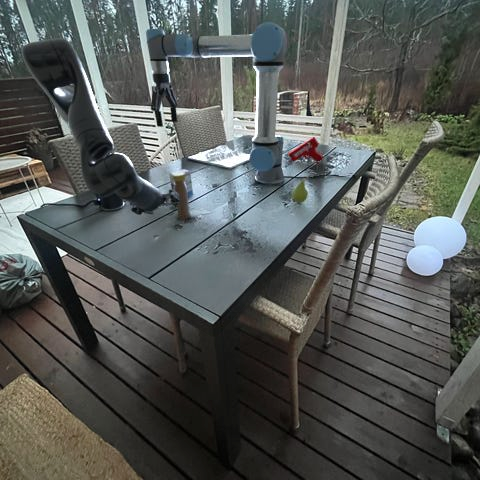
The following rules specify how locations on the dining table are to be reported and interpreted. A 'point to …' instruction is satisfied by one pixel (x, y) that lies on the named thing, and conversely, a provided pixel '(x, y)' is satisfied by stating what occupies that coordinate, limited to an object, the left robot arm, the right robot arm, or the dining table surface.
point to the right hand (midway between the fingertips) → (167, 124)
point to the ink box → (187, 181)
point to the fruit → (300, 192)
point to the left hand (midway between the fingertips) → (163, 207)
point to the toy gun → (306, 151)
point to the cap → (178, 176)
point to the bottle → (182, 200)
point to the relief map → (222, 157)
